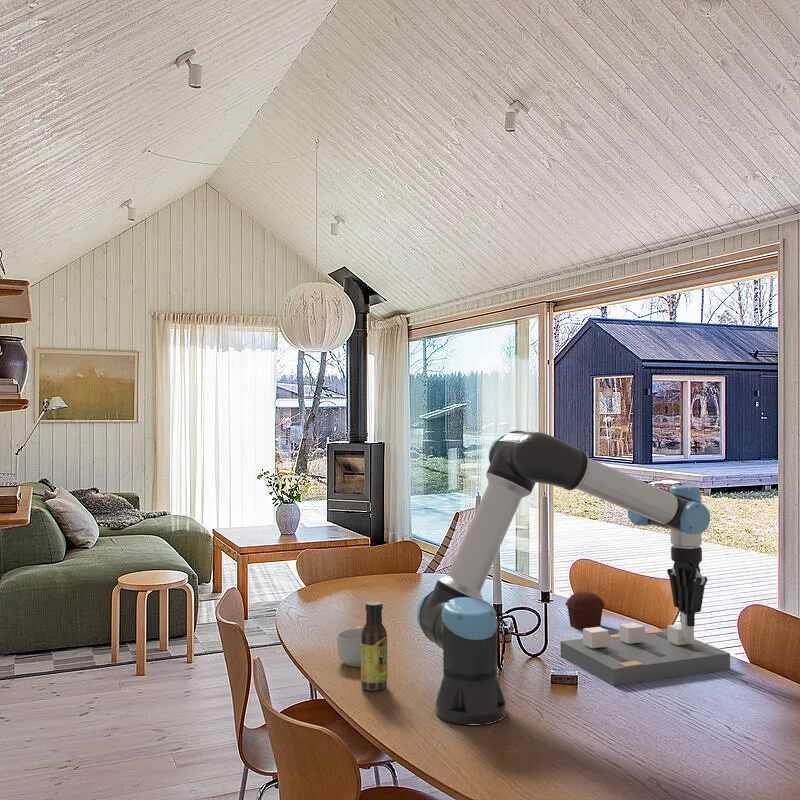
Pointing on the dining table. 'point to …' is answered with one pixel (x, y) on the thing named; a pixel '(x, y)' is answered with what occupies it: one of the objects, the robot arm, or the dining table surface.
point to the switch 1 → (595, 637)
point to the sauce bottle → (373, 649)
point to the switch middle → (632, 633)
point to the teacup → (350, 646)
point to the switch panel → (645, 658)
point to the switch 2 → (677, 635)
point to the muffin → (585, 610)
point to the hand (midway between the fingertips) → (687, 637)
